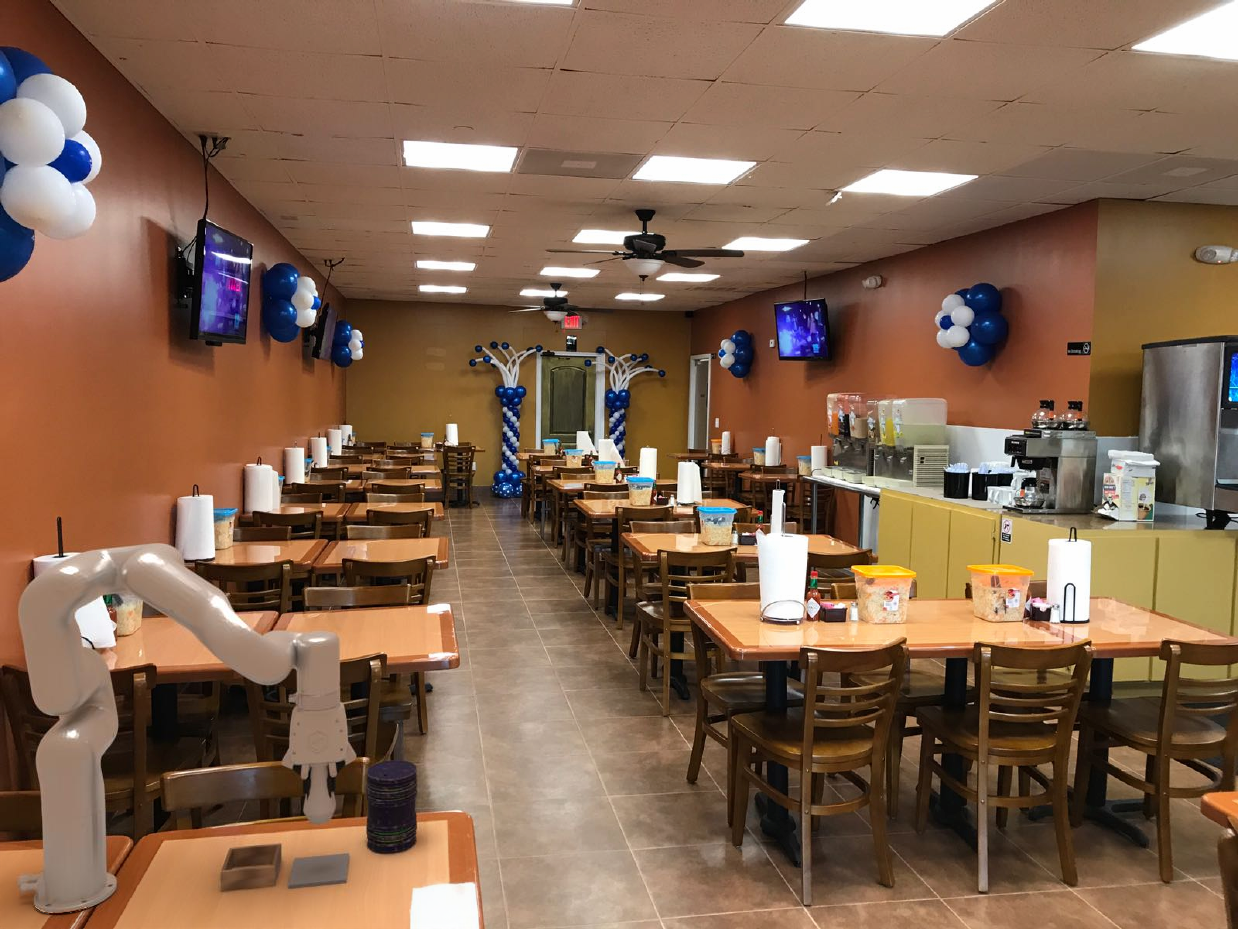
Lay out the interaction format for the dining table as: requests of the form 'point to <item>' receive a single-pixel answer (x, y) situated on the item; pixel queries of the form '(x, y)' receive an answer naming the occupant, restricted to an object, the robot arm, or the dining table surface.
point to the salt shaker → (319, 796)
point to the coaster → (319, 870)
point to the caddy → (251, 875)
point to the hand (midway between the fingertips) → (319, 795)
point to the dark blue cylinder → (391, 806)
